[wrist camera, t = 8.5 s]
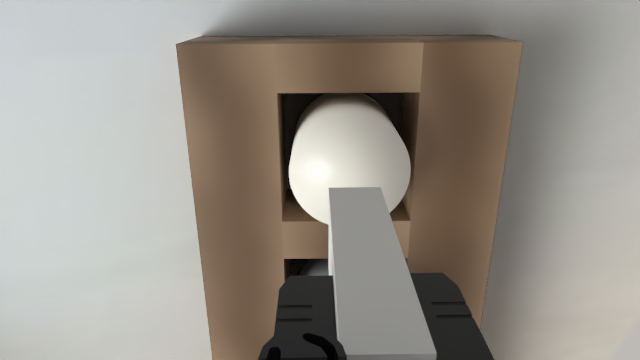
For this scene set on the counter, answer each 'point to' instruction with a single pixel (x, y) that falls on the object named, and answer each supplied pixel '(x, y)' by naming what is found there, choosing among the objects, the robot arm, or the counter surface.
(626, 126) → the counter surface
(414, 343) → the robot arm
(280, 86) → the console
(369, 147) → the button cream
